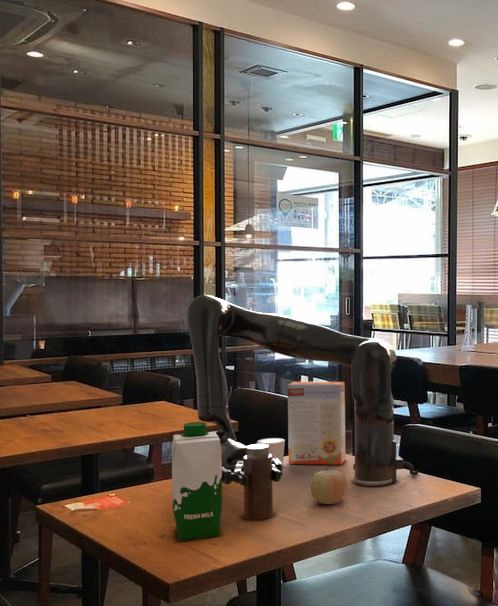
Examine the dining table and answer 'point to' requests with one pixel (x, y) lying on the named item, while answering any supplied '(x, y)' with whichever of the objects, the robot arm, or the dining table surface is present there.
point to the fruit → (328, 486)
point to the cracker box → (316, 423)
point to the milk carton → (196, 482)
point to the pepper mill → (258, 483)
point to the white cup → (275, 447)
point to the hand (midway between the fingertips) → (262, 478)
